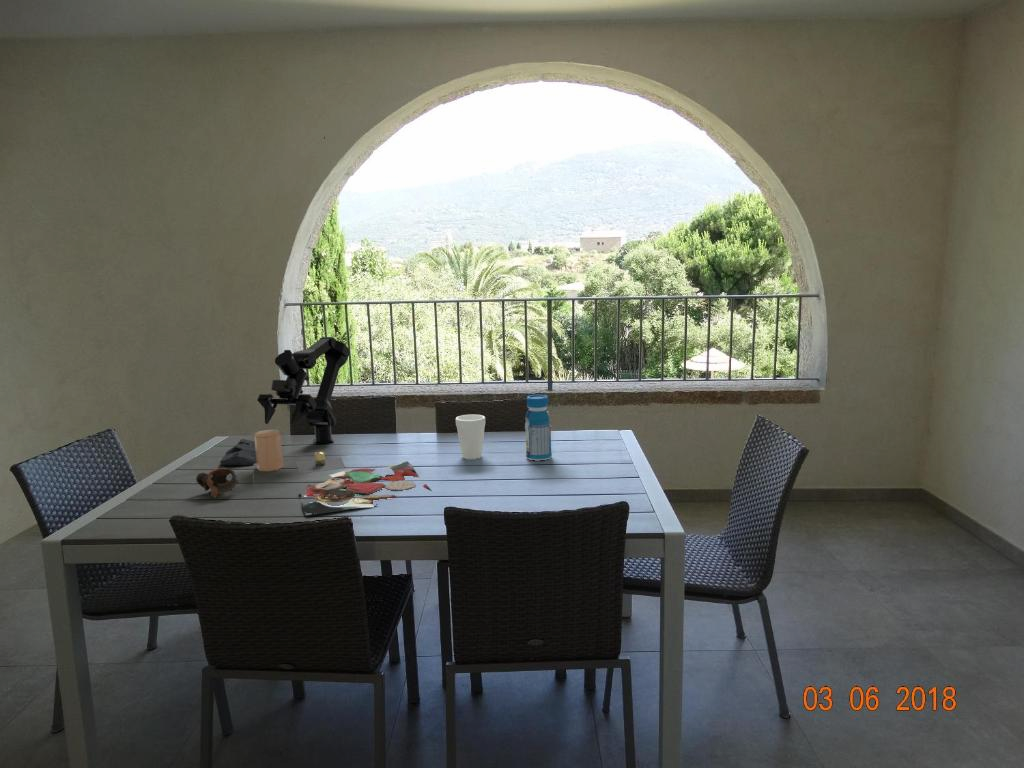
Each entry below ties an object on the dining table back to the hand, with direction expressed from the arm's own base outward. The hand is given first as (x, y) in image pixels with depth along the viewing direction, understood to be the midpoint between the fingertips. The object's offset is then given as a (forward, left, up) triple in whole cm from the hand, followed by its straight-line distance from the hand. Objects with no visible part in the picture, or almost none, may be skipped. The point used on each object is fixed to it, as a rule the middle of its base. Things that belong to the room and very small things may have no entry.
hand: (278, 423), depth 236 cm
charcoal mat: (+10, +11, -13) cm, 20 cm away
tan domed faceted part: (+6, -4, -13) cm, 15 cm away
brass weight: (+10, +11, -12) cm, 19 cm away
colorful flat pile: (+39, +20, -14) cm, 46 cm away
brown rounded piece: (+24, -18, -13) cm, 33 cm away
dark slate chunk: (-13, -11, -14) cm, 22 cm away
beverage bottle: (+31, +77, -13) cm, 84 cm away
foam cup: (+20, +58, -13) cm, 63 cm away
